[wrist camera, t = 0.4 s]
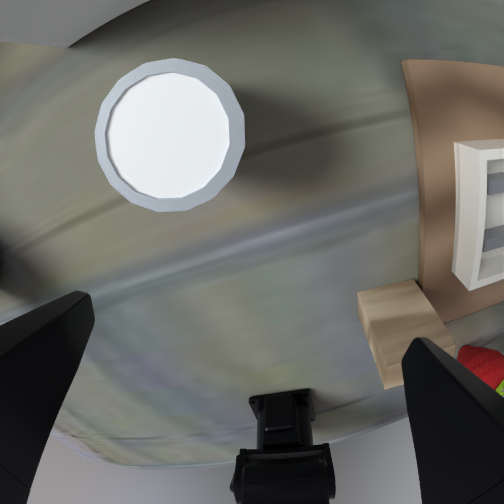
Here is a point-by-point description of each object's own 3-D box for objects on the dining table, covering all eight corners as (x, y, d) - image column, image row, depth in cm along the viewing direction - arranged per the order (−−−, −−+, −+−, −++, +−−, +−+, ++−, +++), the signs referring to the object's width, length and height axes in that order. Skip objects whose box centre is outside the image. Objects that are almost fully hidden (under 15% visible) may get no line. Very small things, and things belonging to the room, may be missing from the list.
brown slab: (527, 283, 22) (532, 288, 21) (414, 324, 24) (417, 331, 24) (538, 74, 13) (545, 75, 12) (400, 61, 15) (407, 59, 14)
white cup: (238, 61, 16) (223, 36, 9) (262, 164, 19) (262, 194, 13) (135, 93, 17) (78, 93, 10) (162, 188, 20) (120, 228, 13)
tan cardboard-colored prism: (411, 302, 23) (449, 368, 16) (358, 315, 24) (384, 389, 17) (412, 278, 22) (456, 344, 15) (357, 292, 23) (387, 366, 16)
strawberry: (434, 343, 26) (472, 419, 17) (490, 315, 24) (535, 379, 15) (433, 375, 28) (462, 443, 19) (484, 349, 27) (519, 409, 18)
